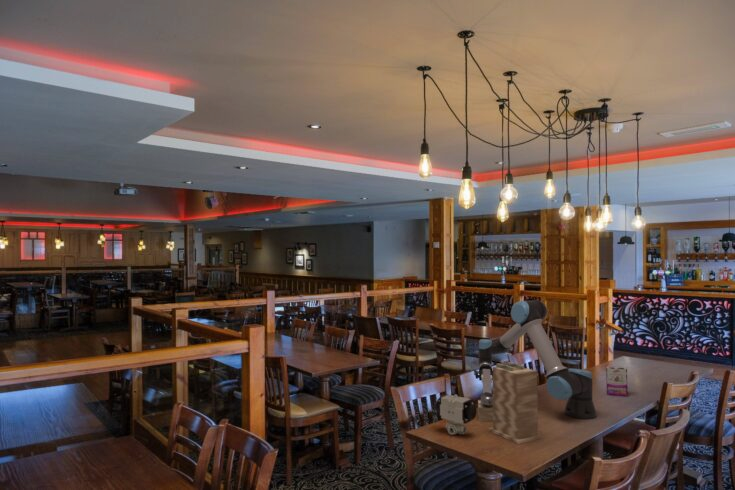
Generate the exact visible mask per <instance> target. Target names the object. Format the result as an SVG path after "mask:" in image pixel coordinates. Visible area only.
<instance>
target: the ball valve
mask: <svg viewBox="0 0 735 490" xmlns="http://www.w3.org/2000/svg"><path fill="white" fill-rule="evenodd" d="M473 401H474V400H473V399H472V398H468V397H462V396H458V394H455V393H454V395H452V394H444V395H442V396H440V397H439V398H437V400H436V402H435V403H436V404H435V410H436V412H437V414H438V416H439V418H440V419H443V420H447V422H446V423H445V429H446V430H445V431H447V433H448V434H449V435H451V436H455V435H457V434H458V435H461V436H462V435H465V434H466V433H467V426H466V425H465V424H468V423H470V422H471V421H473V420H475V419H476V416H477V414H478V408H477V406H476V405H475V404H474V402H473Z"/></svg>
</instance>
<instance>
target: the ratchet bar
mask: <svg viewBox="0 0 735 490" xmlns="http://www.w3.org/2000/svg"><path fill="white" fill-rule="evenodd" d="M482 390H483V391H482V393H481V394H480V400H481V405H482V406H484V407H487V408H490V407H493V391H492V383H491V376H490V369H483V383H482Z"/></svg>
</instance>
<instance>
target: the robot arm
mask: <svg viewBox="0 0 735 490" xmlns="http://www.w3.org/2000/svg"><path fill="white" fill-rule="evenodd" d="M547 315H548V308H547V306H546V304H545V303H544V302H543V301H540V300H538V299H533V300H520V301H517V302H515V303H513V305H512V307H511V310H510V316H511V319H512V321H513V322H514V323H515V324H514V325H512V327H510V328H509V330H507V331H506V332H505V333H504V334H503V335H502V336H501V337H500V338H498V339H497V340H496V341H492V340H491V339H487V338H482V339H479V341H478V365H477V366H478V370H476V369H474V370H473V375H474V376H475V379H478V381H481V384H483V369H490V376H491V384H493V367H492V366H493V364H492V363H493V362H492V361H493V357H492V356H493V355H500V354H506V353H508V352H509V351H510V349H511V346H513V345H514V344H515V343H517V342H518V340H519V339H521V337H523V336H524V335H525V334H526V333H527V336H528V337H529V340H530V341H531V343H532V345H533V348H534V349H535V351H536V353H537V355H538V357H539V359H540V361H541V363H542V365H543V367H544V369H545V371H546V376H545V378H546V382H545V383H546V390H547V392H548V394H549V395H551V397H552V398H553V399H556V400H559V401H560V400H561V401H562V400H567V401H566V404H565V407H564V414H565V415H567V416H568V417H572V418H574V419H582V420H583V419H585V420H589V419H590V420H591V419H595V418H597V410H596V407H595V404H594V401H593V373H592V372H591V371H589V370H586V369H581V368H568V367H567V366H564V365H563V363H562V361H561V360H560V357H559V356H558V354H557V351H556V349H555V348H554V346H553V344H552V342H551V340H550V338H549V336H548V334H547V333H546V330H545V329H544V327H543V325H542V322H543V321H544V320H545V319H546V318H547Z"/></svg>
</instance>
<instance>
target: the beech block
mask: <svg viewBox="0 0 735 490" xmlns="http://www.w3.org/2000/svg"><path fill="white" fill-rule="evenodd" d="M477 414H478V415H477V416H478V421H480V422H492V423H493V407H490V408H487V407H484V406H482V405H481V399H478V400H477Z"/></svg>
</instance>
